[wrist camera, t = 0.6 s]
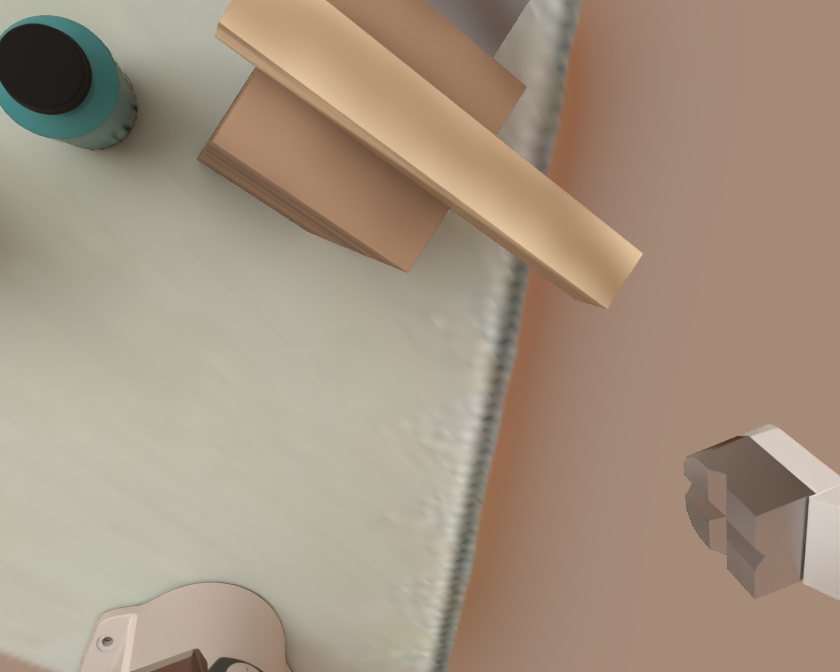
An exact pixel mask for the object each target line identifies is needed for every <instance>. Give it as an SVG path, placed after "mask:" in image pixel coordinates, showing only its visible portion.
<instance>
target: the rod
mask: <svg viewBox="0 0 840 672" xmlns="http://www.w3.org/2000/svg"><path fill="white" fill-rule="evenodd" d="M215 37H216V38H217V39H219V40H220V41H221V42H223V43H224V44H225V45H227V46H228V47H230V48H231V49H232V50H234V51H235V52H236V53H238V54H239V55H241V56H242V57H243V58H245V59H246V60H247V61H249V62H250V63H252V64H253V65H254V66H256V67H257V68H258V69H260V70H261V71H262V72H264V73H265V74H267V75H268V76H269V77H271V78H272V79H273V80H275V81H276V82H278V83H279V84H280V85H282V86H283V87H284V88H286V89H287V90H289V91H290V92H291V93H293V94H294V95H295V96H297V97H298V98H299V99H301V100H302V101H304V102H305V103H306V104H308V105H309V106H310V107H312V108H313V109H315V110H316V111H317V112H319V113H320V114H321V115H323V116H324V117H326V118H327V119H328V120H330V121H331V122H332V123H334V124H335V125H336V126H338V127H339V128H341V129H342V130H343V131H345V132H346V133H347V134H349V135H350V136H352V137H353V138H354V139H356V140H357V141H358V142H360V143H361V144H363V145H364V146H365V147H367V148H368V149H369V150H371V151H372V152H373V153H375V154H376V155H378V156H379V157H380V158H382V159H383V160H384V161H386V162H387V163H389V164H390V165H391V166H393V167H394V168H395V169H397V170H398V171H400V172H401V173H402V174H404V175H405V176H406V177H408V178H409V179H411V180H412V181H413V182H415V183H416V184H417V185H419V186H420V187H421V188H423V189H424V190H426V191H427V192H428V193H430V194H431V195H432V196H434V197H435V198H437V199H438V200H439V201H441V202H442V203H443V204H445V205H446V206H448V207H449V208H450V209H452V210H453V211H454V212H456V213H457V214H458V215H460V216H461V217H463V218H464V219H465V220H467V221H468V222H469V223H471V224H472V225H474V226H475V227H476V228H478V229H479V230H480V231H482V232H483V233H485V234H486V235H487V236H489V237H490V238H491V239H493V240H494V241H495V242H497V243H498V244H500V245H501V246H502V247H504V248H505V249H506V250H508V251H509V252H511V253H512V254H513V255H515V256H516V257H517V258H519V259H520V260H522V261H523V262H524V263H526V264H527V265H528V266H530V267H531V268H532V269H534V270H535V271H537V272H538V273H539V274H541V275H542V276H544V277H545V278H546V279H548V280H549V281H550V282H552V283H553V284H554V285H556V286H557V287H559V288H560V289H561V290H563V291H564V292H565V293H567V294H568V295H570V296H571V297H572V298H574V299H576V300H579V301H582V302H585V303H589V304H592V305H595V306H598V307H602V308H605V309H608V308H609V306H610V305H611V303H612V301H613V300H614V298H615V297H616V295H617V294H618V292H619V290H620V289H621V287H622V286H623V284H624V282H625V281H626V280H627V278H628V276H629V275H630V273H631V272H632V270H633V269H634V267H635V265H636V264H637V262H638V261H639V259H640V258H641V256H642V254H643V253H641V252H640V251H639V250H638V249H636V248H635V247H634V246H633V245H631V244H630V243H629V242H628V241H626V240H625V239H624V238H623V237H621V236H620V235H619V234H618V233H616V232H615V231H614V230H613V229H611V228H610V227H609V226H607V225H606V224H605V223H604V222H603V221H601V220H600V219H599V218H598V217H596V216H595V215H594V214H593V213H591V212H590V211H589V210H588V209H586V208H585V207H584V206H583V205H581V204H580V203H579V202H578V201H576V200H575V199H574V198H573V197H571V196H570V195H569V194H568V193H566V192H565V191H564V190H563V189H561V188H560V187H559V186H558V185H556V184H555V183H554V182H553V181H551V180H550V179H549V178H548V177H546V176H545V175H544V174H543V173H541V172H540V171H539V170H538V169H536V168H535V167H534V166H533V165H531V164H530V163H529V162H528V161H526V160H525V159H524V158H523V157H521V156H520V155H519V154H518V153H516V152H515V151H514V150H513V149H511V148H510V147H509V146H508V145H506V144H505V143H504V142H503V141H501V140H500V139H499V138H498V137H496V136H495V135H494V134H493V133H491V132H490V131H489V130H488V129H486V128H485V127H484V126H483V125H481V124H480V123H479V122H478V121H476V120H475V119H474V118H473V117H471V116H470V115H469V114H468V113H466V112H465V111H464V110H463V109H461V108H460V107H459V106H458V105H456V104H455V103H454V102H453V101H451V100H450V99H449V98H448V97H446V96H445V95H444V94H443V93H441V92H440V91H439V90H438V89H436V88H435V87H434V86H433V85H431V84H430V83H429V82H428V81H426V80H425V79H424V78H423V77H421V76H420V75H419V74H418V73H416V72H415V71H414V70H413V69H411V68H410V67H409V66H408V65H406V64H405V63H404V62H403V61H401V60H400V59H399V58H398V57H396V56H395V55H394V54H393V53H391V52H390V51H389V50H388V49H386V48H385V47H384V46H382V45H381V44H380V43H379V42H377V41H376V40H375V39H374V38H372V37H371V36H370V35H369V34H367V33H366V32H365V31H364V30H362V29H361V28H360V27H359V26H357V25H356V24H355V23H354V22H352V21H351V20H350V19H349V18H347V17H346V16H345V15H344V14H342V13H341V12H340V11H339V10H337V9H336V8H335V7H334V6H332V5H331V4H330V3H329V2H327V1H326V0H232V2H231V3H230V5H229V7H228V8H227V10H226V11H225V13H224V14H223V16H222V18H221V19H220V21H219V23H218V27H217V31H216V35H215Z"/></svg>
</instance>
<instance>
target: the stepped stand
mask: <svg viewBox="0 0 840 672" xmlns="http://www.w3.org/2000/svg"><path fill="white" fill-rule="evenodd" d="M326 1H327V2H329V3H330V4H331V5H332V6H334V7H335V8H336V9H337V10H339V11H340V12H341V13H342V14H344V15H345V16H346V17H347V18H349V19H350V20H351V21H352V22H354V23H355V24H356V25H357V26H359V27H360V28H361V29H362V30H364V31H365V32H366V33H367V34H369V35H370V36H371V37H372V38H374V39H375V40H376V41H377V42H379V43H380V44H381V45H382V46H384V47H385V48H386V49H388V50H389V51H390V52H391V53H393V54H394V55H395V56H396V57H398V58H399V59H400V60H401V61H403V62H404V63H405V64H406V65H408V66H409V67H410V68H411V69H413V70H414V71H415V72H416V73H418V74H419V75H420V76H421V77H423V78H424V79H425V80H426V81H428V82H429V83H430V84H431V85H433V86H434V87H435V88H436V89H438V90H439V91H440V92H441V93H443V94H444V95H445V96H446V97H448V98H449V99H450V100H451V101H453V102H454V103H455V104H456V105H458V106H459V107H460V108H461V109H463V110H464V111H465V112H466V113H468V114H469V115H470V116H471V117H473V118H474V119H475V120H476V121H478V122H479V123H480V124H481V125H483V126H484V127H485V128H486V129H488V130H489V131H490V132H491V133H493V134H494V135H495V136H496V134H497V133H498V131H499V130H500V128H501V126H502V125H503V123H504V122H505V120H506V119H507V117H508V116H509V114H510V112H511V111H512V109H513V108H514V106H515V105H516V103H517V101H518V100H519V98H520V97H521V95H522V94H523V92H524V90H525V89H526V86H525V85H524V84H522V83H521V82H520V81H519V80H518V79H516V78H515V77H514V76H513V75H512V74H511V73H509V72H508V71H507V70H506V69H505V68H504V67H502V66H501V65H500V64H499V63H498V62H496V61H495V60H494V59H493V56H494V55H495V53H496V52H497V50H498V49H499V47H500V45H501V44H502V42H503V41H504V39H505V38H506V36H507V34H508V33H509V31H510V30H511V28H512V27H513V25H514V23H515V22H516V20H517V19H518V17H519V16H520V14H521V12H522V11H523V9H524V8H525V6H526V5H527V3H528V1H529V0H326ZM197 159H198V160H199V161H201V162H202V163H204V164H205V165H207V166H209V167H210V168H212V169H213V170H215V171H216V172H218V173H219V174H221V175H222V176H224V177H225V178H227V179H228V180H230V181H231V182H233V183H234V184H236V185H238V186H239V187H241V188H242V189H244V190H245V191H247V192H248V193H250V194H251V195H253V196H254V197H256V198H257V199H259V200H260V201H262V202H263V203H265V204H267V205H268V206H270V207H271V208H273V209H274V210H276V211H277V212H279V213H280V214H282V215H283V216H285V217H286V218H288V219H289V220H291V221H292V222H294V223H296V224H297V225H299V226H300V227H302V228H303V229H305V230H306V231H308V232H310V233H312V234H315V235H317V236H320V237H322V238H325V239H327V240H329V241H332V242H334V243H337V244H339V245H342V246H344V247H346V248H349V249H351V250H354V251H356V252H358V253H361V254H363V255H366V256H368V257H371V258H373V259H375V260H378V261H380V262H383V263H385V264H388V265H390V266H392V267H395V268H397V269H400V270H402V271H405V272H407V273H408V272H409V271H410V269H411V268H412V266H413V264H414V263H415V261H416V260H417V258H418V257H419V255H420V253H421V252H422V250H423V249H424V247H425V246H426V244H427V243H428V241H429V239H430V238H431V236H432V235H433V233H434V232H435V230H436V228H437V227H438V225H439V224H440V222H441V221H442V219H443V217H444V216H445V214H446V213H447V211H448V210H449V207H448V206H446V205H445V204H443V203H442V202H441V201H439V200H438V199H437V198H435V197H434V196H432V195H431V194H430V193H428V192H427V191H426V190H424V189H423V188H421V187H420V186H419V185H417V184H416V183H415V182H413V181H412V180H411V179H409V178H408V177H406V176H405V175H404V174H402V173H401V172H400V171H398V170H397V169H395V168H394V167H393V166H391V165H390V164H389V163H387V162H386V161H384V160H383V159H382V158H380V157H379V156H378V155H376V154H375V153H373V152H372V151H371V150H369V149H368V148H367V147H365V146H364V145H363V144H361V143H360V142H358V141H357V140H356V139H354V138H353V137H352V136H350V135H349V134H347V133H346V132H345V131H343V130H342V129H341V128H339V127H338V126H336V125H335V124H334V123H332V122H331V121H330V120H328V119H327V118H326V117H324V116H323V115H321V114H320V113H319V112H317V111H316V110H315V109H313V108H312V107H310V106H309V105H308V104H306V103H305V102H304V101H302V100H301V99H299V98H298V97H297V96H295V95H294V94H293V93H291V92H290V91H289V90H287V89H286V88H284V87H283V86H282V85H280V84H279V83H278V82H276V81H275V80H273V79H272V78H271V77H269V76H268V75H267V74H265V73H264V72H262V71H261V70H260V69H258V68H257V67H255V69H254V70H253V72H252V73H251V75H250V77H249V78H248V80H247V81H246V83H245V84H244V86H243V88H242V89H241V91H240V92H239V94H238V95H237V97H236V99H235V100H234V102H233V103H232V105H231V106H230V108H229V110H228V111H227V113H226V114H225V116H224V117H223V119H222V121H221V122H220V124H219V125H218V127H217V128H216V130H215V132H214V133H213V135H212V136H211V138H210V139H209V141H208V143H207V144H206V146H205V147H204V149H203V151H202V152H201V154H200V155H199V157H198V158H197Z"/></svg>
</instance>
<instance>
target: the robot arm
mask: <svg viewBox="0 0 840 672" xmlns="http://www.w3.org/2000/svg"><path fill="white" fill-rule="evenodd" d="M684 475H685V476H686V477H687V478H688V479H689V480H690V481H691V483H692V484H691V486H690V488H689V490H688V492H687V493H686V496H685V497H686V508H687V512H688V515H689V518H690V520H691V523H692V525H693V527H694V529H695V530H696V532H697V534H698V535H699V537H700V538H701V539H702V540H703V542H704V543H705V544H706V545H707V546H708V547H709V549H712V550H714V551H717V552H720V553H722V554H725V555H727V569H728V570H729V571H730V572H731V573H732V575H733V576H734V577H735V578H736V579H737V580H738V581H739V582H740V583H741V585H742V586H743V587H744V588H745V589H746V590H747V591H748V592H749V594H750V595H751V596H752V597H753V598H754V599H756V598H759V597H761V596H764V595H767V594H769V593H772V592H774V591H777V590H780V589H782V588H785V587H787V586H790V585H792V584H795V583H797V582H800V581H803V583H804V584H806V585H808V586H810V587H812V588H814V589H816V590H819V591H821V592H823V593H825V594H827V595H829V596H831V597H833V598H835V599H838V600H840V476H839V475H838V474H836V473H835V472H834V471H833V470H831V469H830V468H829V467H828V466H826V465H825V464H824V463H823V462H821V461H820V460H819V459H817V458H816V457H815V456H814V455H812V454H811V453H809V451H807V450H806V449H805V448H803V447H802V446H801V445H800V444H798V443H797V442H796V441H795V440H793V439H792V438H791V437H789V436H788V435H787V434H786V433H784V432H783V431H782V430H780V429H779V428H778V427H777V426H774V425H771V424H767V425H765V426H762V427H760V428H757V429H755V430H752V431H749V432H747V433H744V434H742V435H741V436H736V437H734V438H732V439H729V440H726V441H724V442H721V443H719V444H717V445H714V446H711V447H709V448H707V449H704V450H702V451H699V452H697V453H694V454H692V455H689V456H687V457H686V460H685V462H684ZM105 637H111V638H112V640H111V641H105V640H103V639H104V638H105ZM78 672H291V670H290V668H289V667H288V665H287V662H286V655H285V636H284V632H283V628H282V625H281V622H280V620H279V618H278V617H277V615H276V613H275V612H274V610H273V609H272V608H271V607H270V606H269V605H268V604H267V603H266V602H265V601H264V600H263V599H262V598H260V597H259V596H257V595H256V594H254V593H253V592H251V591H249V590H246V589H244V588H241V587H238V586H235V585H230V584H225V583H198V584H192V585H188V586H184V587H180V588H177V589H174V590H172V591H169V592H167V593H165V594H163V595H161V596H159V597H157V598H155V599H153V600H151V601H149V602H147V603H145V604H142V605H139V606H131V607H124V608H118V609H114V610H111V611H108V612H106V613H104V614H103V615H102V616H101V617H100V618H99V619H98V621H97V624H96V626H95V629H94V631H93V634H92V637H91V639H90V642H89V644H88V647H87V650H86V652H85V655H84V657H83V660H82V663H81V665H80V668H79V670H78Z"/></svg>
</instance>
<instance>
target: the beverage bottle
mask: <svg viewBox="0 0 840 672" xmlns="http://www.w3.org/2000/svg"><path fill="white" fill-rule="evenodd" d="M113 55H114V54H113ZM121 71H122V70H120V69H119V67H118V65H117V64H116V62H115V61H114V59H113V57H112V55H111V53H110V51H109V50H108V48H107V47H106V46H105V45H104V43H103V42H102V41H101V40H100V39H99V38H98V37H97V36H96V35H95V34H94V33H93V32H91V31H90V30H89V29H87V28H86V27H84V26H82V25H81V24H79V23H77V22H74V21H72V20H69V19H66V18H62V17H58V16H50V15H41V16H33V17H29V18H26V19H23V20H21V21H18V22H16V23H15V24H13V25H11V26H10V27H9V28H8V29H6V30H5V31H4V32H3V33H2V34H1V36H0V106H1V107H2V108H3V110H4V111H5V112H6V113H7V114H8V115H9V116H10V117H11V118H12V119H13V120H14V121H15V122H16V123H17V124H19V125H20V126H22V127H23V128H25V129H27V130H29V131H31V132H33V133H35V134H38V135H40V136H44V137H47V138H53V139H55V141H56V139H58V140H60V141H63V142H66V143H69V144H71V145H74V146H77V147H81V148H87V149H90V150H92V149H99V148H101V149H102V148H105V147H108V146H110V147H112V146H111V145H112V144H114V143H116V142H118V141H120V140H121V139H122V138H123V137H124V136H125V135H126V134H127V133H129V131H130V130H131V131H132V129H131V126H132V124H133V121H134V118H135V111H136V113H137V107H136V105H135V99H134V95H133V92H132V88H133V87H132V88H131V87H130V86H129V84H128V82H127V80H126V79H125V77H124V75H123V74H122V72H121ZM127 78H128V77H127ZM130 83H131V82H130ZM131 86H132V84H131ZM133 90H134V89H133ZM135 97H136V96H135ZM136 99H137V98H136ZM136 102H137V101H136ZM137 104H138V103H137ZM135 121H136V120H135ZM134 124H135V123H134ZM132 128H133V127H132ZM129 134H130V133H129ZM58 142H59V141H58ZM120 142H122V141H120ZM61 143H62V142H61ZM118 144H119V143H118ZM113 146H114V145H113ZM93 151H94V150H93Z"/></svg>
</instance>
